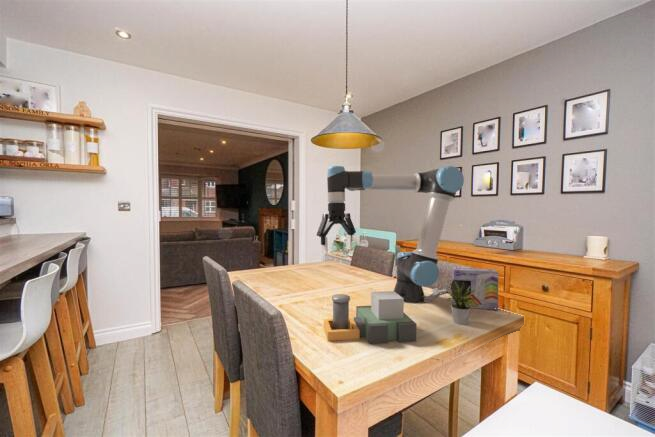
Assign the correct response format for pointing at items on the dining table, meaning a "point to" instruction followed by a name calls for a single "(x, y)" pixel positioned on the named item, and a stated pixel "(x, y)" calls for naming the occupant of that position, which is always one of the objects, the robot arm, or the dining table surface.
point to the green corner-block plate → (377, 321)
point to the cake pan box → (477, 286)
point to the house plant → (460, 305)
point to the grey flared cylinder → (340, 311)
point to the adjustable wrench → (434, 294)
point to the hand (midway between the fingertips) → (337, 251)
